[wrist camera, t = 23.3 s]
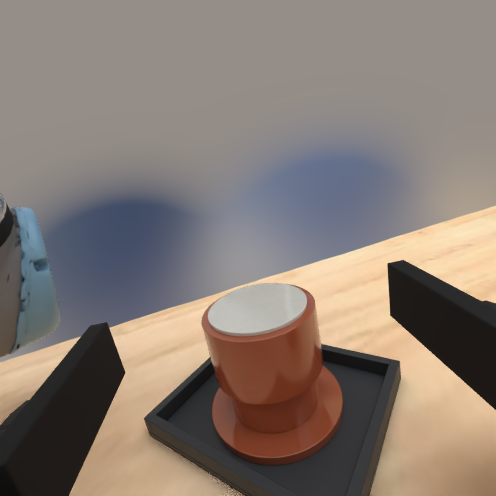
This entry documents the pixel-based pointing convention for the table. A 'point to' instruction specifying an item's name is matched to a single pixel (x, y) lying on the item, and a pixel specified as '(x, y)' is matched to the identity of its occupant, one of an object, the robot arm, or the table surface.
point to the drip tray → (304, 471)
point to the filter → (270, 375)
